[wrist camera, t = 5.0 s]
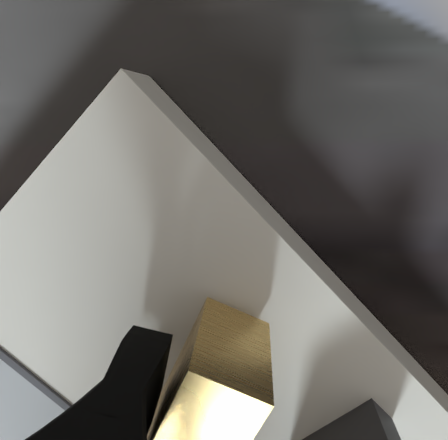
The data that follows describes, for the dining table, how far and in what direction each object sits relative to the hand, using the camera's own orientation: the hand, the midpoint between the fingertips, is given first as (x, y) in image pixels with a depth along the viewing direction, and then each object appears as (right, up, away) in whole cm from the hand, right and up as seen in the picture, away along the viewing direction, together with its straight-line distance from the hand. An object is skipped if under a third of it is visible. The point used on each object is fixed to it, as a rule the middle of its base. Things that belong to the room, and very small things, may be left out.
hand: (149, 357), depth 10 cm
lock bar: (0, -4, +2) cm, 4 cm away
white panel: (+2, -3, +5) cm, 6 cm away
